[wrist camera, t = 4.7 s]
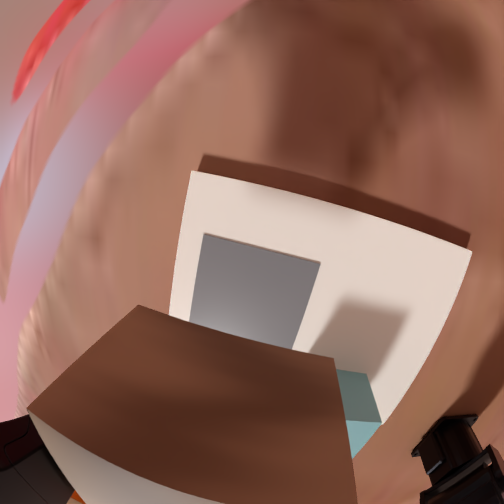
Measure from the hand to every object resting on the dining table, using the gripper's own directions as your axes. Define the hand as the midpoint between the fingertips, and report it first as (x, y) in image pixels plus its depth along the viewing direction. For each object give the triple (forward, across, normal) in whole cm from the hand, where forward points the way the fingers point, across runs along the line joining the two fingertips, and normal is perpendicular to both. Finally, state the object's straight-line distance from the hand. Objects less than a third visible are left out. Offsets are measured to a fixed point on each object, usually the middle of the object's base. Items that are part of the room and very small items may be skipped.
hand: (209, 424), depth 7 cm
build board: (+11, -4, +1) cm, 12 cm away
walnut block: (+1, 0, 0) cm, 1 cm away
